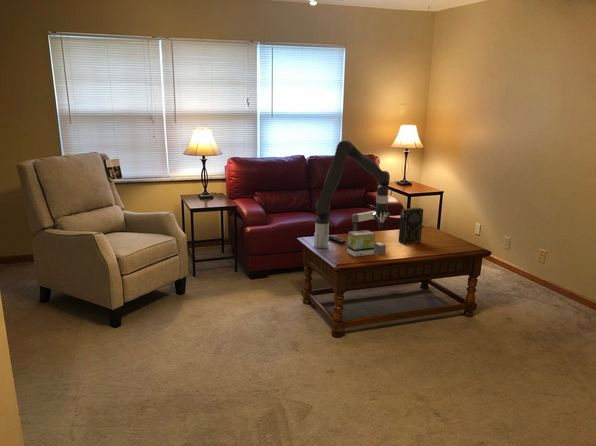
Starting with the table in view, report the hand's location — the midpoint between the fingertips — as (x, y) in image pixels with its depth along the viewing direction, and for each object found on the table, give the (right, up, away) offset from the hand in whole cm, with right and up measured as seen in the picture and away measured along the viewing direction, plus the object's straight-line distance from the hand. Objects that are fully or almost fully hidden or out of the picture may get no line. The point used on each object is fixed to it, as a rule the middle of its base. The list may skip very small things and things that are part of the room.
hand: (380, 227), depth 305 cm
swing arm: (-9, +5, +12) cm, 16 cm away
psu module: (0, -17, +4) cm, 17 cm away
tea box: (-13, -17, +2) cm, 22 cm away
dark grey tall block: (+26, -11, +28) cm, 40 cm away
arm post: (-16, -15, +12) cm, 25 cm away
